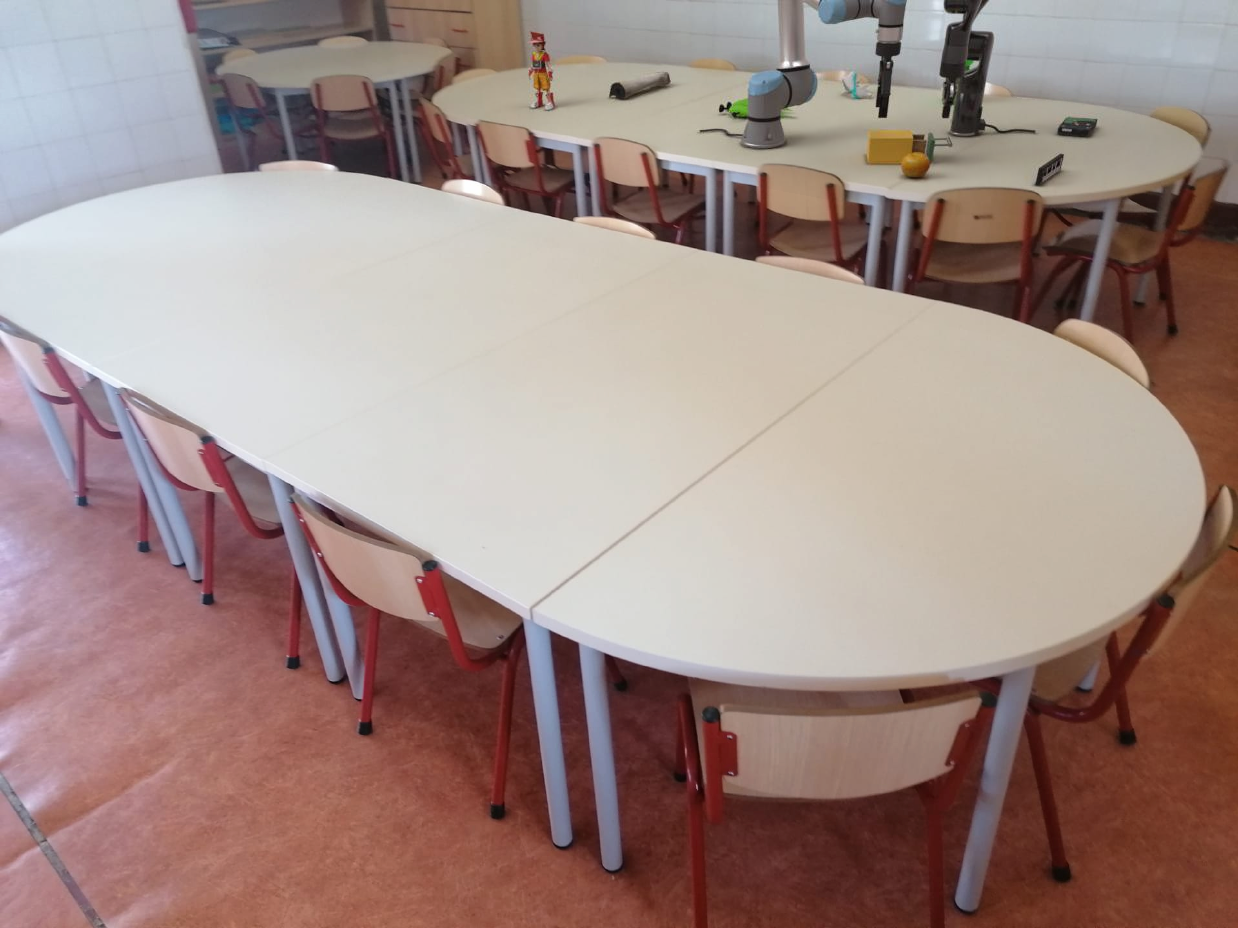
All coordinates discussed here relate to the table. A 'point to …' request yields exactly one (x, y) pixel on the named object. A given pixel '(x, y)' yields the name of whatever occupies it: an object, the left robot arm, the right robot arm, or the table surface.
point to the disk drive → (1077, 126)
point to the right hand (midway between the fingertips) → (945, 117)
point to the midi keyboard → (1049, 169)
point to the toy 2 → (741, 108)
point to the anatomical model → (855, 86)
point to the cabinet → (888, 146)
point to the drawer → (920, 144)
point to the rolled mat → (638, 84)
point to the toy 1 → (541, 71)
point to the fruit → (915, 164)
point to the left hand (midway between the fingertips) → (881, 112)
